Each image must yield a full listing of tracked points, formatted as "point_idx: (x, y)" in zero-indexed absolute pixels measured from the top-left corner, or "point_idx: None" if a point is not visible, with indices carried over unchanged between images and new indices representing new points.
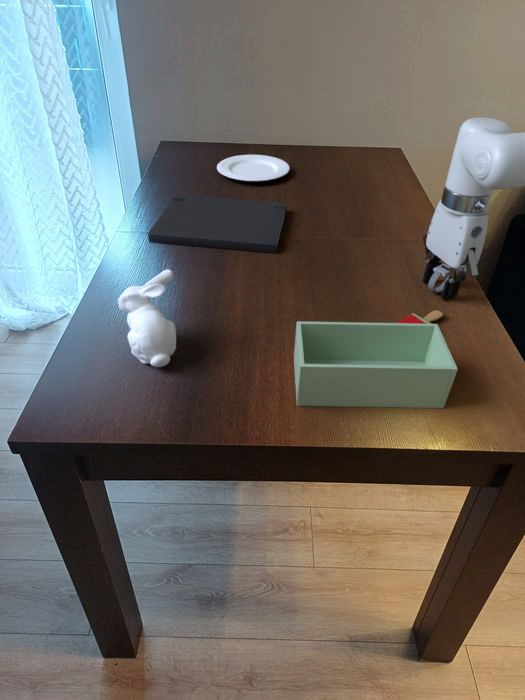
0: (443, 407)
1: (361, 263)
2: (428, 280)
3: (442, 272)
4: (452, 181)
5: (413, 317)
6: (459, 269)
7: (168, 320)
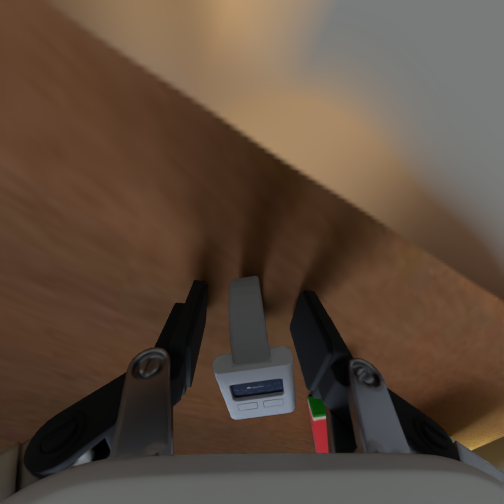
0: (452, 438)
1: (46, 380)
2: (204, 318)
3: (280, 413)
4: None
5: (323, 422)
6: (353, 423)
7: None
